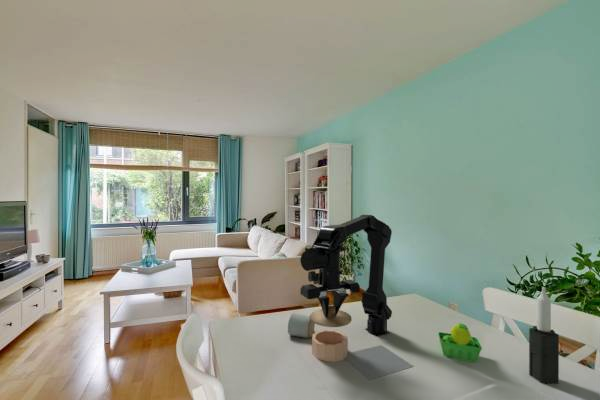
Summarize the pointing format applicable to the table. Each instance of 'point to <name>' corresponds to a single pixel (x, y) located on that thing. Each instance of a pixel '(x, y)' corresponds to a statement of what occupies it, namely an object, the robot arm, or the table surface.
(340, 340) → the bowl
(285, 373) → the table surface
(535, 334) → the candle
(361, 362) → the mat
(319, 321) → the lid
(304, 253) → the robot arm
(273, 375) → the table surface
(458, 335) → the fruit basket
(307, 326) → the ceramic mug
